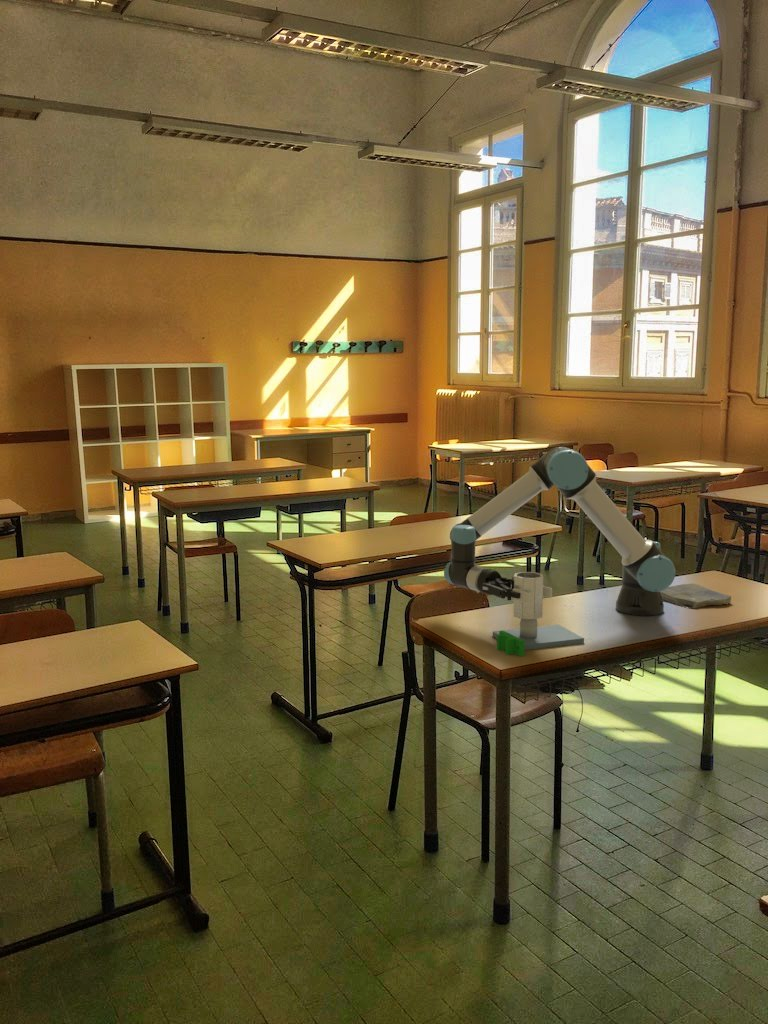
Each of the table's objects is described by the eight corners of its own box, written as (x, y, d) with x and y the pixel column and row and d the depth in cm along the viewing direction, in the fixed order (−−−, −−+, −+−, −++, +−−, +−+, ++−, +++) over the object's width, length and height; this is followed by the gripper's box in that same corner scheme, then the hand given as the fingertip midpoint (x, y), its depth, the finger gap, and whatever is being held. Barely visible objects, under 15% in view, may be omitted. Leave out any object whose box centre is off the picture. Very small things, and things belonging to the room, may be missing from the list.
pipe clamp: (491, 647, 246) (491, 632, 245) (502, 645, 248) (502, 630, 247) (513, 658, 236) (513, 642, 235) (524, 656, 238) (524, 640, 237)
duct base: (558, 629, 262) (558, 603, 261) (584, 643, 248) (584, 616, 247) (492, 636, 256) (492, 610, 254) (515, 651, 242) (515, 623, 240)
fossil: (695, 614, 282) (735, 605, 289) (695, 601, 281) (734, 591, 288) (653, 602, 300) (691, 593, 307) (653, 589, 299) (690, 581, 306)
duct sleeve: (526, 610, 256) (527, 570, 254) (547, 615, 249) (548, 575, 247) (507, 614, 251) (508, 574, 249) (528, 620, 244) (529, 579, 242)
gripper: (508, 587, 270) (564, 602, 252) (459, 598, 257) (514, 614, 239) (509, 564, 269) (565, 577, 251) (459, 573, 256) (515, 588, 238)
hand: (540, 595), depth 245 cm, fingers closed on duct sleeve, 8 cm apart
